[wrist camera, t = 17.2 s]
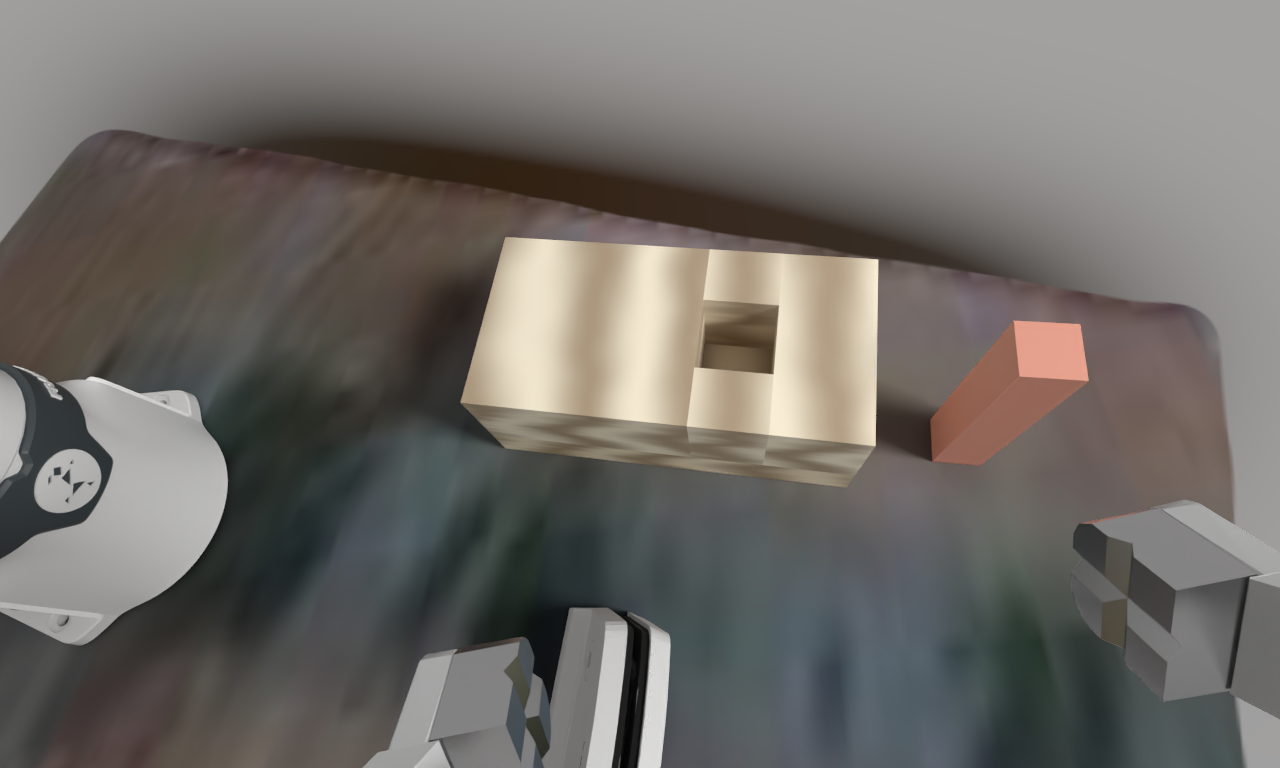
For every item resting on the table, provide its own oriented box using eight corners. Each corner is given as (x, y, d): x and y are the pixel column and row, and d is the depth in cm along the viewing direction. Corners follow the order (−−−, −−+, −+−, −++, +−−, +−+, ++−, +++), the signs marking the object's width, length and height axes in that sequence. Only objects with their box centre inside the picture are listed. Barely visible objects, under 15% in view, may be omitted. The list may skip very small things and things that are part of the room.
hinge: (570, 601, 43) (595, 596, 34) (640, 615, 44) (683, 613, 34) (508, 911, 37) (518, 1009, 27) (591, 921, 37) (627, 1019, 28)
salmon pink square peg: (932, 461, 44) (1019, 376, 31) (930, 419, 45) (1013, 320, 32) (980, 465, 43) (1088, 380, 31) (976, 423, 44) (1080, 324, 32)
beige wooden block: (505, 448, 48) (460, 402, 39) (540, 300, 52) (506, 232, 44) (846, 487, 44) (875, 445, 35) (851, 324, 48) (878, 254, 40)
